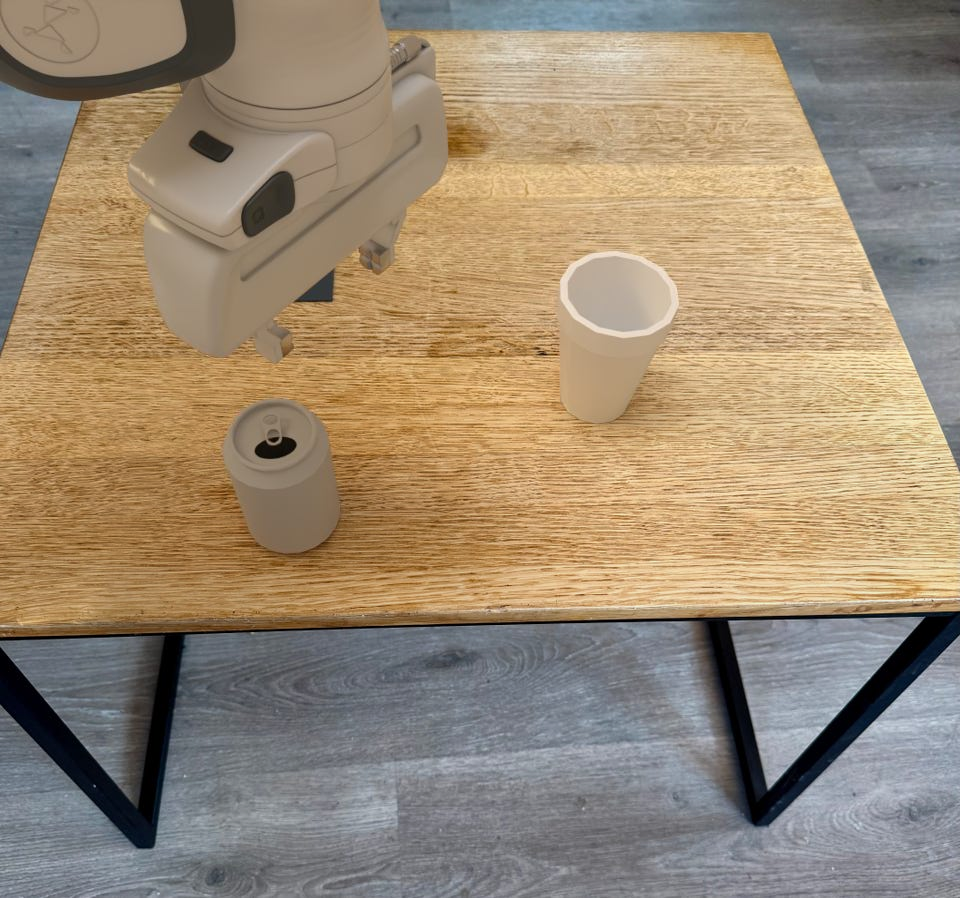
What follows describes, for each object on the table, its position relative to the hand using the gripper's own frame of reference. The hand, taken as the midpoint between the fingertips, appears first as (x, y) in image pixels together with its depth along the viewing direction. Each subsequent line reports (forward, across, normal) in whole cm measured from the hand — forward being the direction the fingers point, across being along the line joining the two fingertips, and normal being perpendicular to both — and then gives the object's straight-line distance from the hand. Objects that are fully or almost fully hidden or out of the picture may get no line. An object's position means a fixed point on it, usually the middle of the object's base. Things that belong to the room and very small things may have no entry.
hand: (328, 307), depth 54 cm
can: (+22, +5, -2) cm, 23 cm away
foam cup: (+22, -21, +10) cm, 32 cm away
